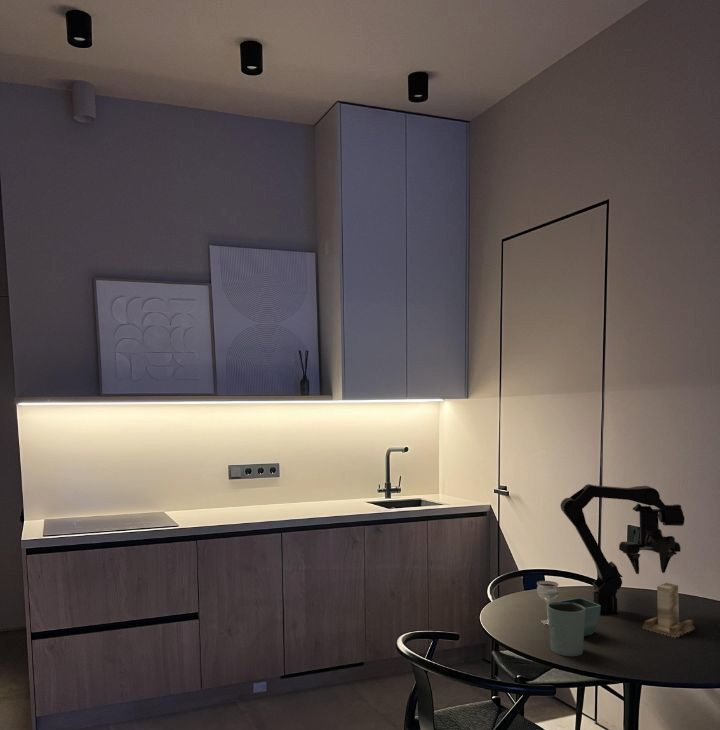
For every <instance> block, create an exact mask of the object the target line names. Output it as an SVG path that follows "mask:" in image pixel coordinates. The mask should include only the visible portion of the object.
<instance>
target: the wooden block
mask: <svg viewBox="0 0 720 730" xmlns="http://www.w3.org/2000/svg"><path fill="white" fill-rule="evenodd" d="M656 590H657V591H656V592H657V594H656V595H657V597H656V598H657V616H658V626H659V627H662V628H666V629H669V628H670V627H672V626H675V625H677V624H679V622H680V614H679V613H680V611H679V610H680V608H679V607H680V606H679V585H678V584H674V583H669V582H665V583H662V584H659V585H657V586H656Z"/></svg>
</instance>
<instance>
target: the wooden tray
mask: <svg viewBox="0 0 720 730" xmlns="http://www.w3.org/2000/svg"><path fill="white" fill-rule="evenodd" d="M644 629H646V630H645V631H648V630H649V632H652V631H653V632H652V633H655V632H656V633H657V634H659V633H660V634H659V635H663V634H664V635H663V636H666V635H667V637H670V636H671V638H673V637H674V639H677V638H679V637H681V636H683V635H686V634H687V632H688V633H690V632H692V631H694V630H695V629H696V628H695V625H693V620H692V619H687V620H684V621H682V622H681V621H679V624H677V625H675V626H672V627H670V628H669V629H666V628H662V627H659V626H658V615H656V616H654V617H652V618H649V619H647V620H644V624H643V626H642V630H644ZM689 631H690V632H689ZM656 633H655V634H656ZM685 633H686V634H685ZM680 635H681V636H680ZM676 637H677V638H676Z"/></svg>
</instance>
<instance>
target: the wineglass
mask: <svg viewBox="0 0 720 730" xmlns="http://www.w3.org/2000/svg"><path fill="white" fill-rule="evenodd" d="M536 585H537V587H536V593H537V595H538V596H539V597H540V599H542V600H544V601H545V602H546V612H547V613H546V614H547V615H546V616H547V619H543V620H540V621H541V622H542V623H543V624H542V623H541V624H542V625H545V624H548V625H547V626H549V617H548V607H547V605H548V604H549V603H552V601H554V600H555V599H557V598H558V596H559V593H560V589H559V582H556V581H551V580H539V581H537V582H536Z"/></svg>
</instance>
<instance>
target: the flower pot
mask: <svg viewBox="0 0 720 730" xmlns="http://www.w3.org/2000/svg"><path fill="white" fill-rule="evenodd" d="M558 602H570V603H576V604H579V605H582V606H584V607H585V609H586V610H585V620H584V637H586V636H592V635H593V634H594V633H595V632H596V630H597V628H598V625H599V622H600V617H601V615H600V608H601V606H600V605H598V604H596V603H594V601H593V602H592V601H590V600H588V599H585V598H582V597H575V598H570V599H565V600H559V601H558Z"/></svg>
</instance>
